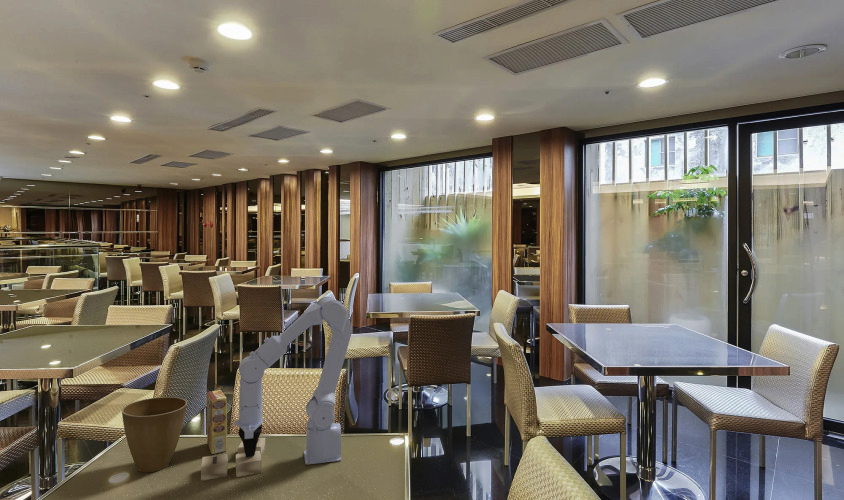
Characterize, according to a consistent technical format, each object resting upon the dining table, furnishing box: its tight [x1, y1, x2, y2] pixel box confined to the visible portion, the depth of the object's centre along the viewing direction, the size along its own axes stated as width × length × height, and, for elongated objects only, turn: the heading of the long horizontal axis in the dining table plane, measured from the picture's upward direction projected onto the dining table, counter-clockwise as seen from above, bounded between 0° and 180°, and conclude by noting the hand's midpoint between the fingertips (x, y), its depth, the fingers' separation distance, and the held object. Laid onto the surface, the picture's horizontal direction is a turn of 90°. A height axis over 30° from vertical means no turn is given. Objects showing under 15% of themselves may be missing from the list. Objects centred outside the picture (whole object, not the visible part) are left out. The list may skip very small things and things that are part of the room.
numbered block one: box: [200, 453, 229, 481], centre depth 120 cm, size 6×6×4 cm
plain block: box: [235, 451, 262, 478], centre depth 122 cm, size 6×6×4 cm
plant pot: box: [121, 396, 188, 473], centre depth 123 cm, size 15×15×16 cm
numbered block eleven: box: [237, 437, 266, 458], centre depth 131 cm, size 6×6×4 cm
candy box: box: [206, 389, 228, 455], centre depth 135 cm, size 9×4×15 cm, turn 33°
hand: (250, 455), depth 122 cm, fingers closed
